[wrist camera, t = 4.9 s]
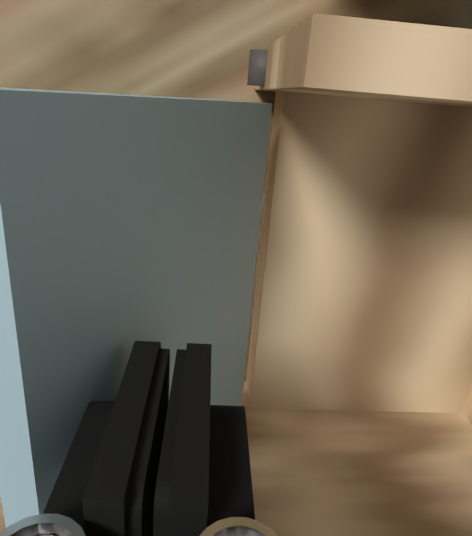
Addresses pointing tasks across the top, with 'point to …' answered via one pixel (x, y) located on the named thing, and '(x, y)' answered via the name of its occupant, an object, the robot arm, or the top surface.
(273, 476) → the cabinet
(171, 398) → the robot arm
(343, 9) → the top surface
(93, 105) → the door
